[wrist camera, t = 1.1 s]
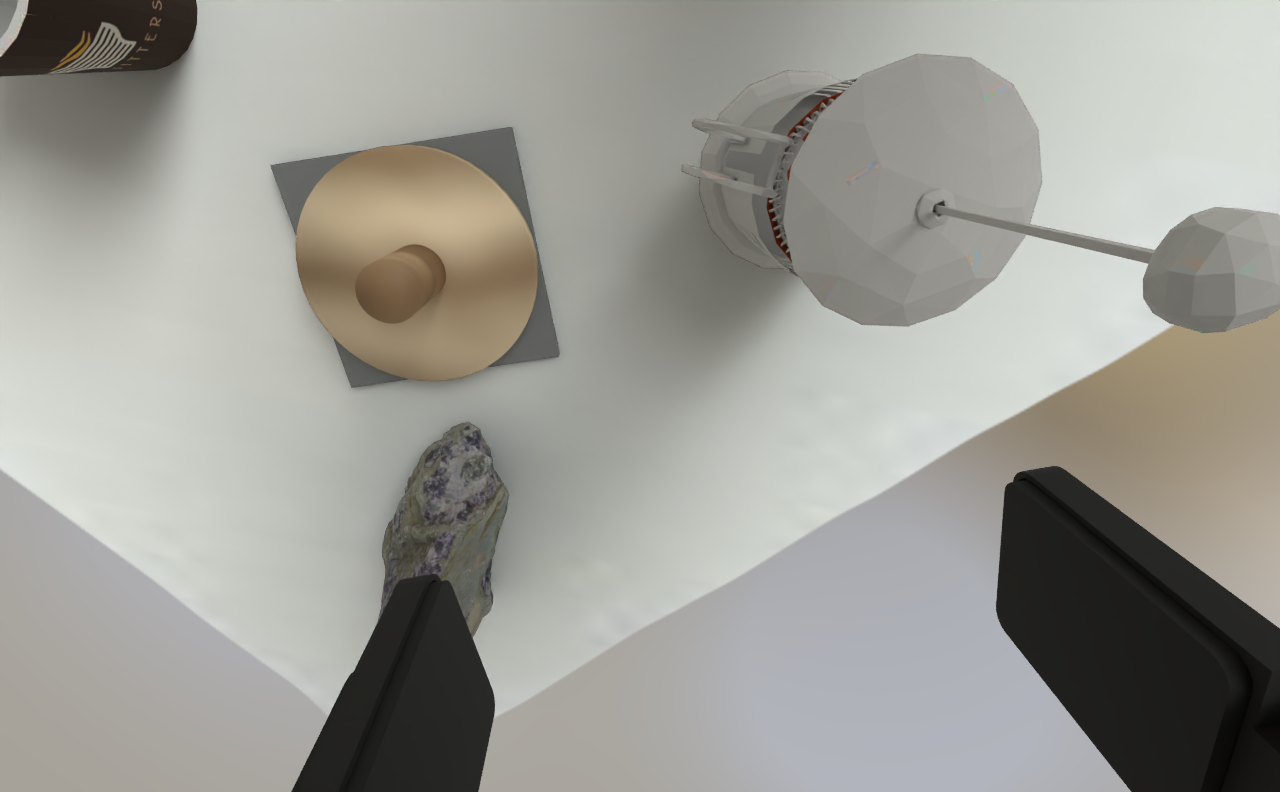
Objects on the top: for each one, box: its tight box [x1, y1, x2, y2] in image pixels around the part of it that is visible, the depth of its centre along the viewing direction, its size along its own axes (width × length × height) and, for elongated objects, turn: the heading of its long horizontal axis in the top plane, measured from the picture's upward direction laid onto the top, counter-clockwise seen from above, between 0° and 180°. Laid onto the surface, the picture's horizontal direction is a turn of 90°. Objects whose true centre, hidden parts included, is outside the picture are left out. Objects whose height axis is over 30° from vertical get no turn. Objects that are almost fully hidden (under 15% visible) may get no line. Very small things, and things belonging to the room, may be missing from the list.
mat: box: [270, 127, 559, 388], centre depth 32 cm, size 12×12×1 cm
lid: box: [296, 145, 539, 381], centre depth 29 cm, size 12×12×6 cm
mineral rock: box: [378, 422, 509, 638], centre depth 34 cm, size 13×11×10 cm
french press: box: [682, 54, 1280, 333], centre depth 20 cm, size 10×12×25 cm
